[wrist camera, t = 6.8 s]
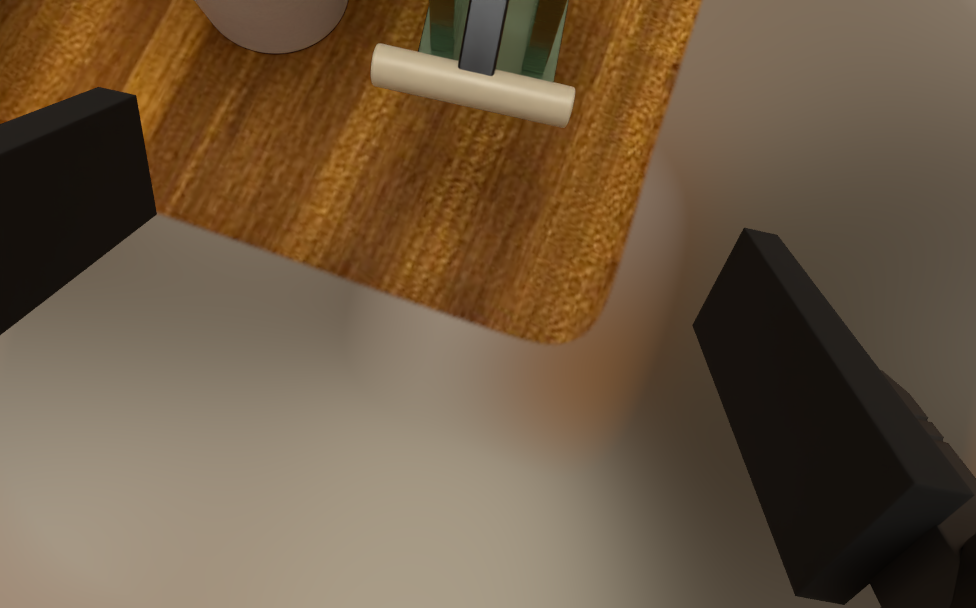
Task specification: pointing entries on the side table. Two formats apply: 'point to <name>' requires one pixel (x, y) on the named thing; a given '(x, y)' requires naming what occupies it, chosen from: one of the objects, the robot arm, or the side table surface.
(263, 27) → the coffee cup
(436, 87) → the lever
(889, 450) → the robot arm
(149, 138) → the side table surface
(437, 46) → the bracket
